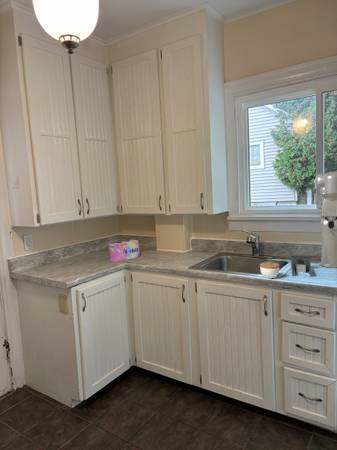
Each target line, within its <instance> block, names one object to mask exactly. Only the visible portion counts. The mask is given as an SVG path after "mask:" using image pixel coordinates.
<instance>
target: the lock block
mask: <svg viewBox="0 0 337 450" xmlns="http://www.w3.org/2000/svg"><path fill="white" fill-rule="evenodd" d="M297 272H303V273H302V274H306V273H307V272H306V264H305V262H297V270H296V273H297Z"/></svg>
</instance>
